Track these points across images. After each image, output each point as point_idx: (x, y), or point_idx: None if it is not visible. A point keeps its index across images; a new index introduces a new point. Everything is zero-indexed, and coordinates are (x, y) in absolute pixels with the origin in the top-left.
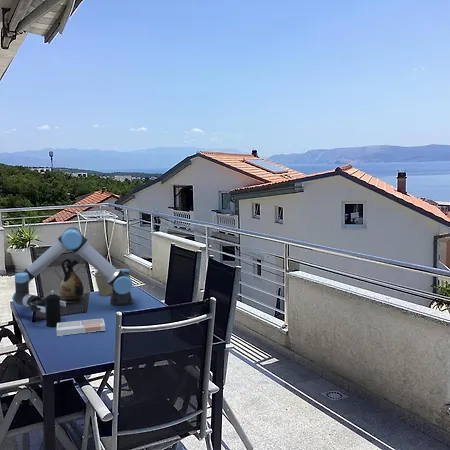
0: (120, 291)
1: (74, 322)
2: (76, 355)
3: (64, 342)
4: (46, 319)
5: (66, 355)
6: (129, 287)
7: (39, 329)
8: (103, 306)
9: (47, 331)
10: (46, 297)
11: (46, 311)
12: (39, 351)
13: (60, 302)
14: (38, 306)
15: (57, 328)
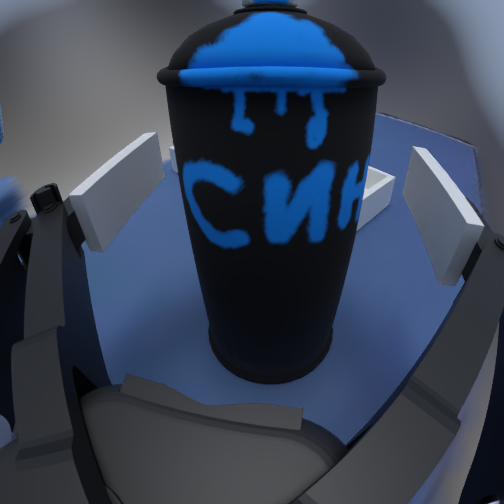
0: (2, 129)
1: None
2: (406, 137)
3: (393, 171)
4: (334, 314)
5: (424, 146)
6: (1, 114)
7: (401, 340)
8: None
9: (385, 274)
10: (359, 48)
11: (354, 238)
12: (473, 186)
13: (122, 179)
14: (468, 203)
15: (379, 184)
